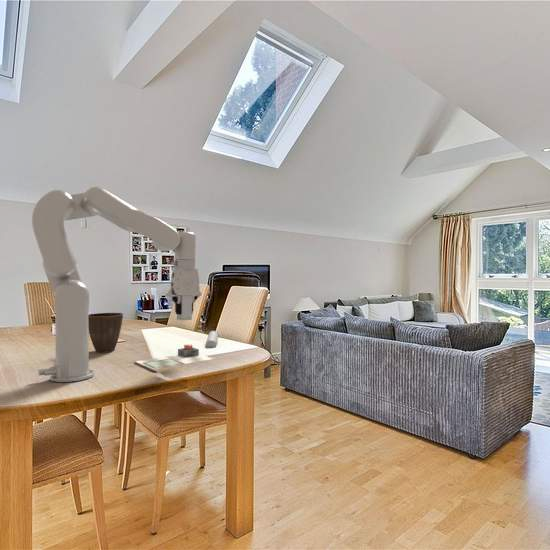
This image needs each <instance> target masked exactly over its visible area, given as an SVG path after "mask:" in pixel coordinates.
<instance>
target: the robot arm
mask: <svg viewBox="0 0 550 550" xmlns="http://www.w3.org/2000/svg"><path fill="white" fill-rule="evenodd" d="M95 216H99V217H101V218H103V219H104V220H107V221H109V222H110V223H111V224H114V225H115V226H117V227H119V228H120V229H121V230H125V231H126V232H131V233H134V234H139V235H142V236H144V237H146V238H148V239H150V240H151V242H152V246H153V247H154V248H155V249H156V250H158V251H160V252H161V251H162V252H169V251H174V261H171V263H170V264H171V266H173V267H174V268H173V269H172V272H171V275H170V276H171V277H170V278H171V279H170V288H169V290H168V291H167V294H166V297H167V298H169V299H171V300H172V302H173V303H174V309H175V310H174V311H175V314H176V315H177V314H179V315H181V308H182V305H181V304H180V301H181V296H182V295H192V315H193V314H194V313H193V312H194V304H195V303H196V301H197V300H198V298H200V297H201V296H202V292H201V291H200V276H199V271H198V268H196V247H197V246H196V244H197V243H196V242H197V241H196V234H195V233H194V232H191V231H179V232H178V231H177V230H176V229H175V228H174V227H173V226H171V225H169V224H167V223H166V222H164V221H162V220H161V219H159V218H157V217H155V216H153V215H151V214H149V213H147V212H144V211H142V210H140V209H137V208H136V207H134V206H132V205H131V204H129V203H127V202H126V201H124V200H122V199H120V198H119V197H118V196H116V195H115V194H113V193H111V192H110V191H108V190H106V189H104V188H102V187H100V186H93V187H90V188H88V189H87V190H86V191H85V192H82V193H75V194H69V193H68V192H66V191H64V190H62V189H54V190H51V191H48V192H46V193H45V194H44V195H42V196H41V198H40V199H39V200H38V201H37V203H35V206H34V208H33V211H32V215H31V222H32V223H31V224H32V225H31V226H32V230H33V233H34V234H33V235H34V237H35V240H36V242H37V243H36V244H37V246H38V249H39V252H40V255H41V257H42V268H43V270H44V273H45V275H46V278H47V281H48V283H49V286H50V290H52V291H51V292H52V294H53V297H54V299H55V300H54V301H55V303H54V304H55V309H54V310H55V312H54V313H55V315H54V317H55V321H54V329H55V336H54V337H55V363H53V364H52V366H50V367H48V368H41V369H37V370H38V372H37V374H38V376H49V380H50V381H51V382H54V381H55V383H72V381H73V382H79V381H83V380H86V379H90V378H92V377H93V376H94V374H95V371H94V370H92V369H90V364H89V362H90V357H89V355H90V354H89V353H90V349H89V344H90V341H89V340H90V339H89V338H90V334H89V328H88V316H89V312H90V311H89V310H90V309H89V308H90V291H89V289H88V287H87V285H85V284H84V283H83V282H82V278H81V276H80V273H79V270H78V267H77V264H78V263H77V258H76V256H75V254H74V252H73V250H72V247H71V243H70V242H69V239H68V235H67V232H66V229H65V221H72V220H77V219H85V218H91V217H95Z"/></svg>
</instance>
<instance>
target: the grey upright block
mask: <svg viewBox="0 0 550 550" xmlns="http://www.w3.org/2000/svg"><path fill="white" fill-rule="evenodd" d="M180 304H181V305H182V308H181V315H179V314H176V320H177V321H178V320H179V321H192V320H193V319H192V317H193V314H192V295H182V296H181V301H180Z"/></svg>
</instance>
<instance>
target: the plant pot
mask: <svg viewBox="0 0 550 550" xmlns="http://www.w3.org/2000/svg"><path fill="white" fill-rule="evenodd" d="M123 319H124V313H122V312H99V313H98V312H97V313H91V314H89V316H88V328H89V338H90V340H91V343H92V346H93V349H94V351H95V352H96V353H99V354H100V353H101V354H103V353H105V354H106V353H111V352H114V351H115V349H116V346H117V344H118V340H119V338H120V334H121V329H122V325H123Z"/></svg>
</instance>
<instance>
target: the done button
mask: <svg viewBox="0 0 550 550" xmlns="http://www.w3.org/2000/svg"><path fill="white" fill-rule="evenodd" d="M192 347H193V344H184V345H183V348H184V350H192Z"/></svg>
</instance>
